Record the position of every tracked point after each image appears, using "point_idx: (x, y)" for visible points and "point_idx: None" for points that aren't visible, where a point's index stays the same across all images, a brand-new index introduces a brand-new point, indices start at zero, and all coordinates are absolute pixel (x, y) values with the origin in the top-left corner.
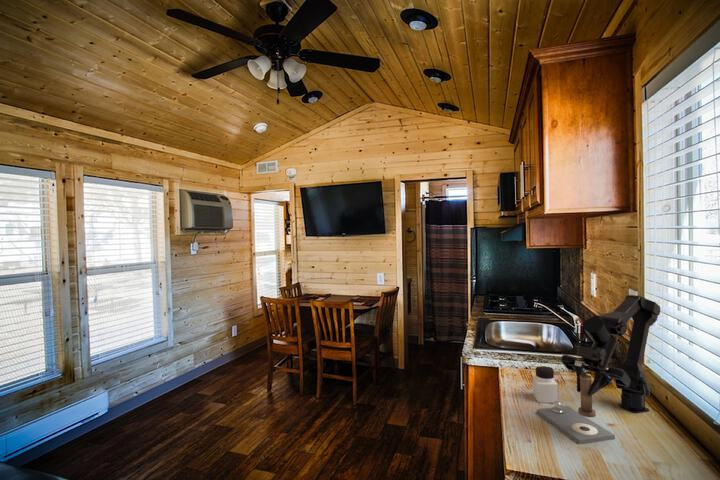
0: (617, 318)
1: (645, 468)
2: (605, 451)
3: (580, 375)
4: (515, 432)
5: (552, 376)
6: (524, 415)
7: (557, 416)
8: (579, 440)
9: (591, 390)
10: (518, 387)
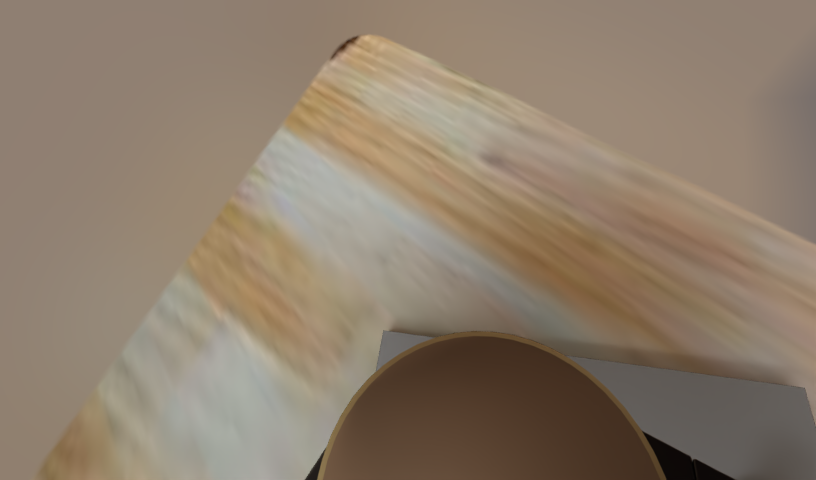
0: None
1: (89, 457)
2: (280, 405)
3: (622, 432)
4: (572, 151)
5: None
6: (750, 295)
7: (678, 449)
8: (383, 330)
9: (322, 454)
10: None
